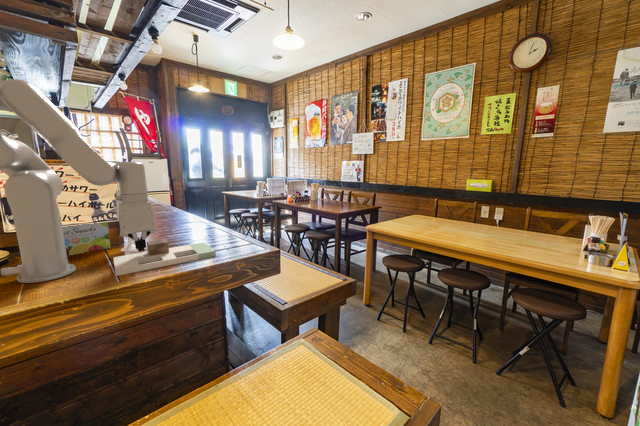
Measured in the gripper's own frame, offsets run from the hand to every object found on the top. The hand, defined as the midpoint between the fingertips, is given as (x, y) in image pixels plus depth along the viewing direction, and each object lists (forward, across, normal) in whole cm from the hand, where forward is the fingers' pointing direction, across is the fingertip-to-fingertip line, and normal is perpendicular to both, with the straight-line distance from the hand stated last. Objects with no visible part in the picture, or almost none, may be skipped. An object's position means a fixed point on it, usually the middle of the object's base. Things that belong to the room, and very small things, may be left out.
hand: (141, 250), depth 93 cm
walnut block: (+2, +5, 0) cm, 5 cm away
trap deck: (+4, +7, -3) cm, 9 cm away
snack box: (+4, -19, +25) cm, 32 cm away
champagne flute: (+4, -2, +19) cm, 20 cm away
